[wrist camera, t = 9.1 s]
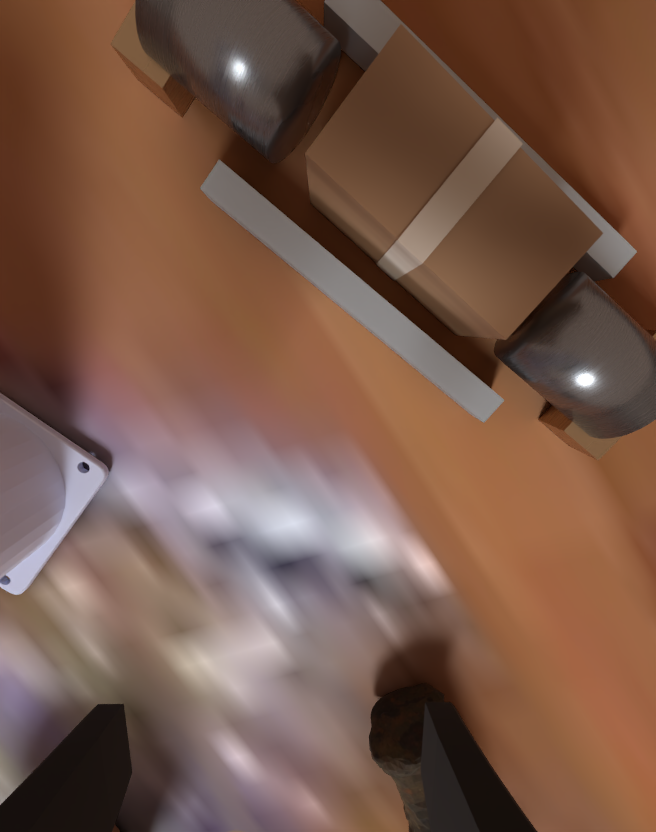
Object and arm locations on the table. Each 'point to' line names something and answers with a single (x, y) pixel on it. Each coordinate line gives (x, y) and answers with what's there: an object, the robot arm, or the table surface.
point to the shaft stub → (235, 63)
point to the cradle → (362, 41)
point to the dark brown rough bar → (403, 746)
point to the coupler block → (444, 195)
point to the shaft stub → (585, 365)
